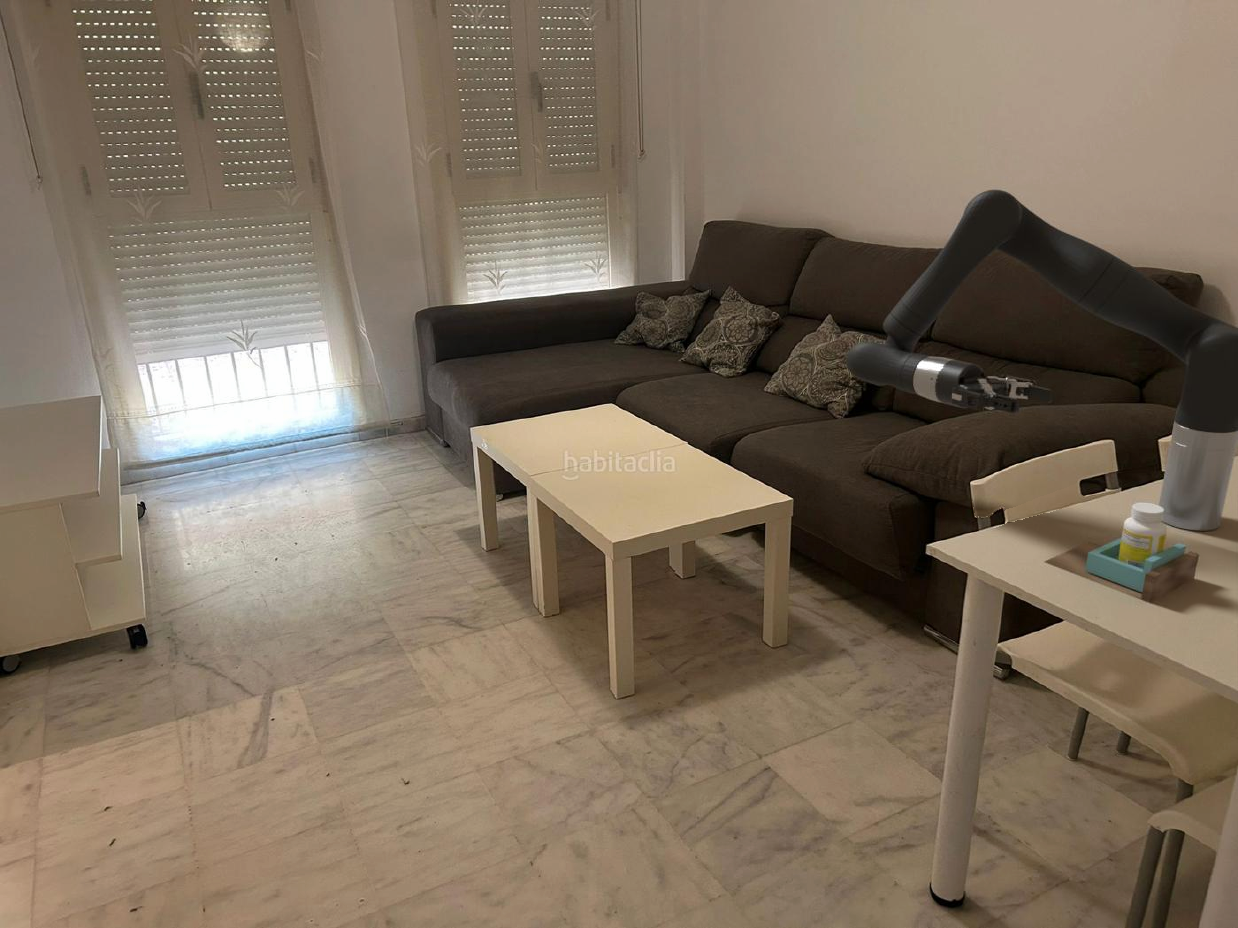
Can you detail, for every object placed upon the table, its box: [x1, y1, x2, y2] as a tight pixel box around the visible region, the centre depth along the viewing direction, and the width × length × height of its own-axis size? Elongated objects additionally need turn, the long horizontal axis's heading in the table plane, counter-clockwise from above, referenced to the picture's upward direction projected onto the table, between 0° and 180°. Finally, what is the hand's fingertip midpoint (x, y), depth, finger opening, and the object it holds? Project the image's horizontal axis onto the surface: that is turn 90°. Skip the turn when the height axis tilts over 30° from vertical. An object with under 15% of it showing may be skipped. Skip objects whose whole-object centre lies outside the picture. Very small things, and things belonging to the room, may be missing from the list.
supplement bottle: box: [1118, 502, 1168, 569], centre depth 129 cm, size 5×5×10 cm
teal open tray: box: [1085, 536, 1187, 592], centre depth 131 cm, size 9×9×5 cm
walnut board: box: [1043, 541, 1200, 604], centre depth 133 cm, size 12×16×6 cm
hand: (1034, 401), depth 139 cm, fingers open, 8 cm apart
